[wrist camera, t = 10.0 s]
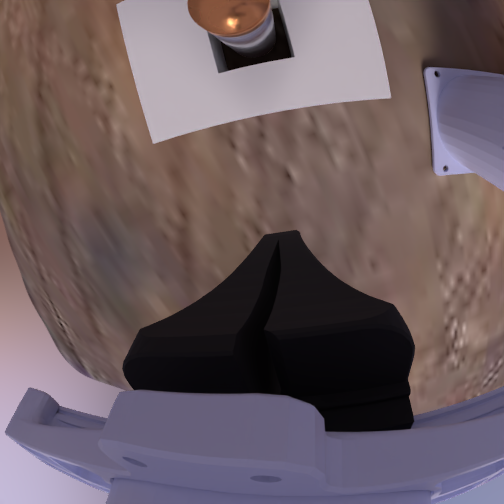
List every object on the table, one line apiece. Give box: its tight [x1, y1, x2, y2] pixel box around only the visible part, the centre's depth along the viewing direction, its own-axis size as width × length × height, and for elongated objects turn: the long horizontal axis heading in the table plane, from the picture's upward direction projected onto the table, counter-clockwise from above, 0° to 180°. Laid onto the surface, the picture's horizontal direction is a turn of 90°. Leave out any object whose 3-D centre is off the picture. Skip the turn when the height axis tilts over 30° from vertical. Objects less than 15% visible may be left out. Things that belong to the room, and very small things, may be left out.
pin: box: [187, 0, 276, 58], centre depth 11 cm, size 3×3×9 cm
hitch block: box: [116, 0, 391, 144], centre depth 14 cm, size 14×10×4 cm
